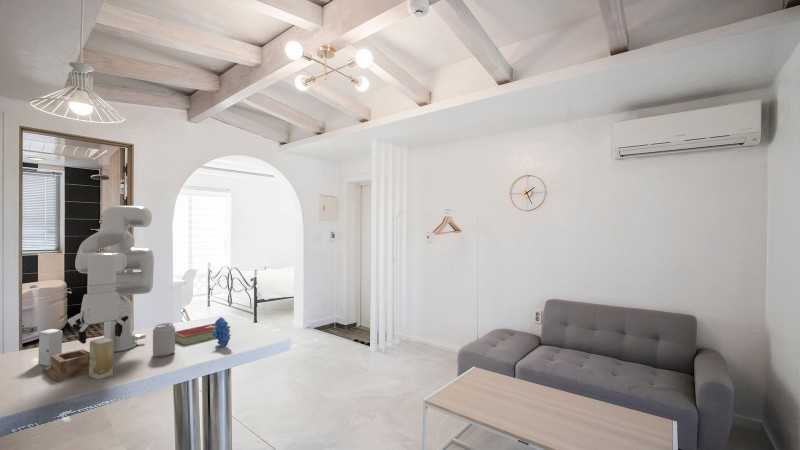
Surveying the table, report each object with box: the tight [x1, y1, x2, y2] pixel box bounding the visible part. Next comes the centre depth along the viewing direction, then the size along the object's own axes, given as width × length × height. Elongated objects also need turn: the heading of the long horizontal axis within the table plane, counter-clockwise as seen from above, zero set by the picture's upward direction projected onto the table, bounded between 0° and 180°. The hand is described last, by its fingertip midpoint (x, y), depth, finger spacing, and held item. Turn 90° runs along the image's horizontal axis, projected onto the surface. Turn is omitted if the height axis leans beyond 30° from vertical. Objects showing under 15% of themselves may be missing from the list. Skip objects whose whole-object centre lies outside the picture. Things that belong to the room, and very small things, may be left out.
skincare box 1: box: [37, 328, 64, 367], centre depth 136 cm, size 6×4×12 cm
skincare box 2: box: [88, 337, 114, 380], centre depth 125 cm, size 6×4×12 cm
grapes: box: [212, 316, 231, 347], centre depth 156 cm, size 12×7×12 cm, turn 49°
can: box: [152, 322, 176, 358], centre depth 146 cm, size 8×8×12 cm
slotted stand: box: [42, 348, 90, 382], centre depth 129 cm, size 12×14×6 cm
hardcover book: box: [175, 322, 232, 346], centre depth 169 cm, size 12×21×4 cm, turn 144°
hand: (101, 339), depth 124 cm, fingers open, 9 cm apart
